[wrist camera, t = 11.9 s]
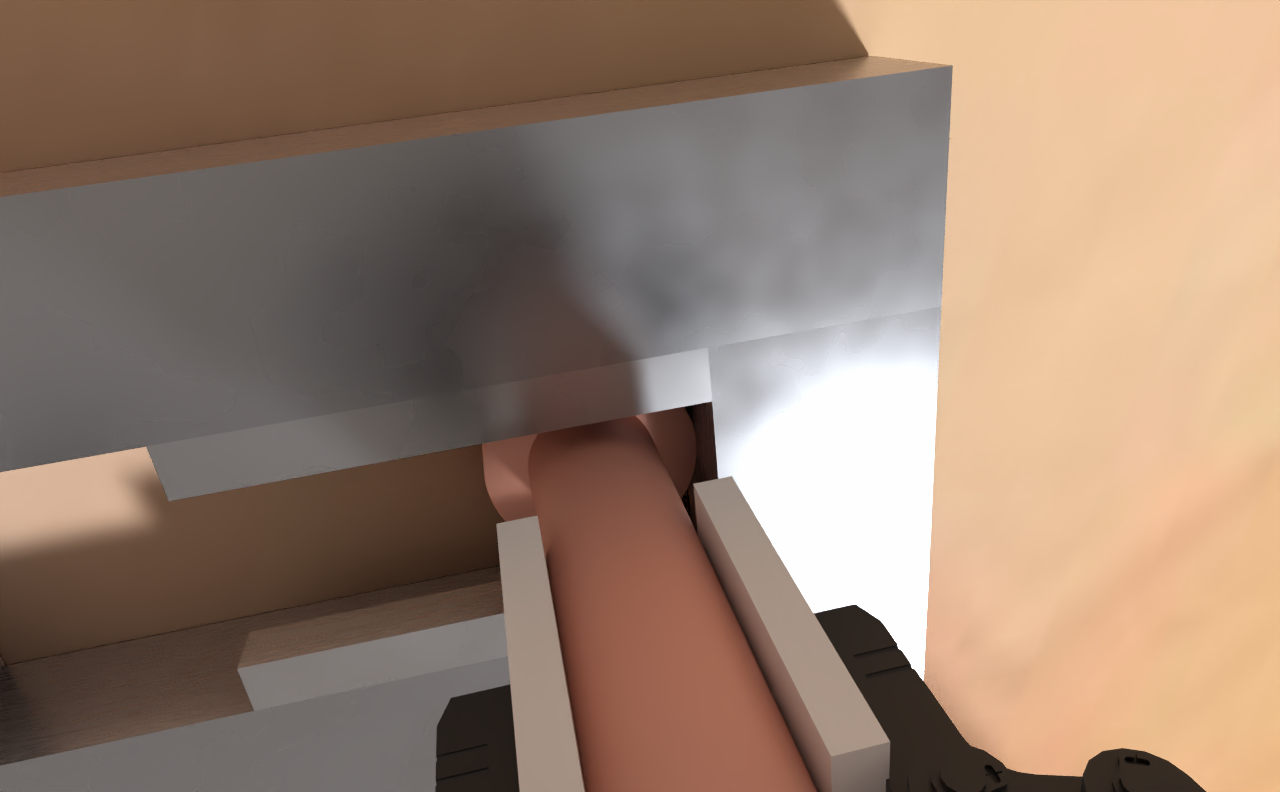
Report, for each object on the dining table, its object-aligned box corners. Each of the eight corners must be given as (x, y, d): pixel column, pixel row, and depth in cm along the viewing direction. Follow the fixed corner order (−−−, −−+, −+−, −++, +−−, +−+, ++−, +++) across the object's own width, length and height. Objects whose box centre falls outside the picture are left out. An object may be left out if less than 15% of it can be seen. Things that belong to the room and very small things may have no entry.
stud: (498, 541, 22) (590, 1572, 7) (465, 361, 20) (505, 1317, 5) (689, 507, 22) (1108, 1384, 8) (677, 328, 20) (1218, 1094, 6)
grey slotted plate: (-69, 832, 22) (-154, 966, 19) (-477, 237, 16) (-713, 295, 12) (865, 623, 26) (921, 709, 23) (870, 55, 19) (952, 65, 16)
